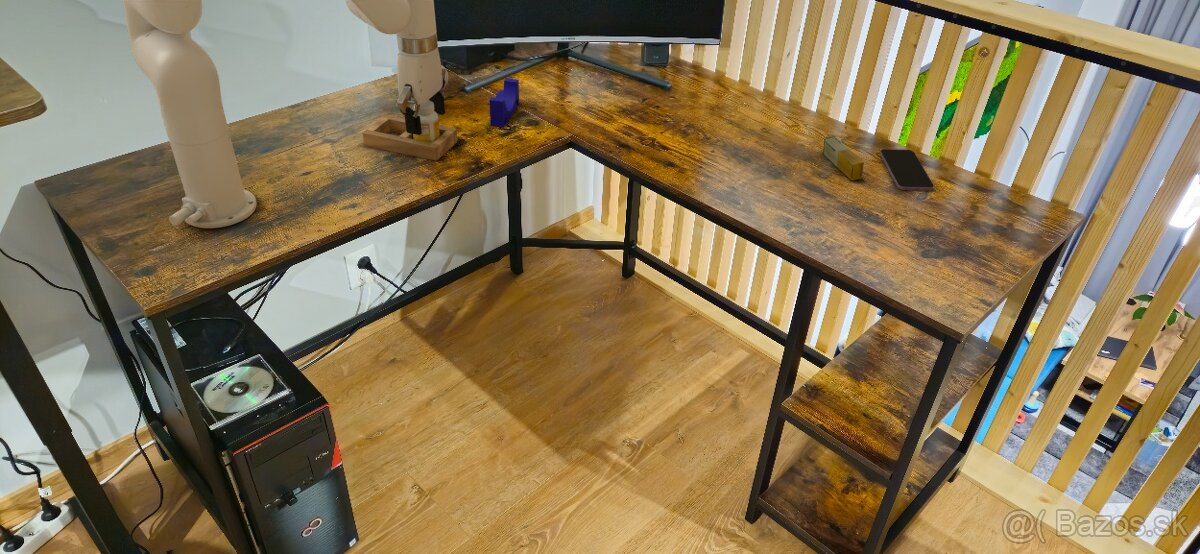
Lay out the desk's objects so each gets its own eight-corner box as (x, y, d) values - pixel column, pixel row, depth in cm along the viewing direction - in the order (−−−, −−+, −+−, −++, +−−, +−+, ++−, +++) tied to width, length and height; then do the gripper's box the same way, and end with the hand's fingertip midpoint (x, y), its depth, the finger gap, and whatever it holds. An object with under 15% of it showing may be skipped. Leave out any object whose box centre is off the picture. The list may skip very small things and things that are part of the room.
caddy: (436, 161, 170) (435, 147, 168) (364, 145, 174) (362, 132, 172) (458, 141, 177) (457, 128, 175) (387, 127, 181) (386, 114, 179)
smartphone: (899, 187, 166) (878, 148, 177) (897, 191, 166) (877, 153, 178) (935, 187, 166) (913, 149, 178) (934, 192, 167) (911, 154, 178)
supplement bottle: (421, 155, 171) (417, 112, 166) (409, 145, 175) (405, 102, 169) (445, 148, 174) (441, 105, 168) (433, 138, 177) (429, 96, 172)
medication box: (821, 154, 177) (823, 137, 175) (833, 152, 178) (835, 135, 175) (850, 181, 168) (853, 163, 166) (863, 178, 168) (865, 161, 166)
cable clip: (500, 102, 193) (499, 77, 189) (519, 104, 192) (518, 79, 189) (483, 124, 183) (482, 99, 180) (503, 127, 183) (502, 101, 179)
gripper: (422, 24, 168) (430, 103, 179) (376, 55, 155) (387, 138, 166) (456, 29, 167) (462, 109, 177) (412, 61, 153) (421, 145, 164)
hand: (426, 123), depth 171 cm, fingers open, 9 cm apart
